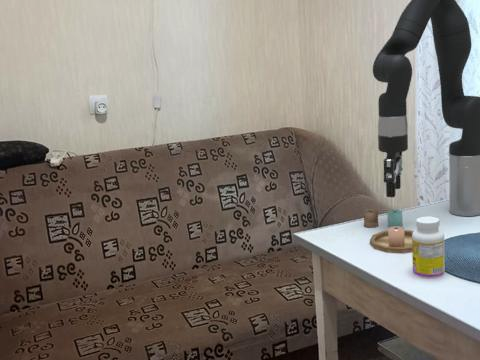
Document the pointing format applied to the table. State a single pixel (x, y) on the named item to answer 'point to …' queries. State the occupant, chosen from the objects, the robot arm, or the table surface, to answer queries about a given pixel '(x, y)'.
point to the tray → (382, 242)
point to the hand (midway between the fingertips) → (393, 192)
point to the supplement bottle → (428, 248)
